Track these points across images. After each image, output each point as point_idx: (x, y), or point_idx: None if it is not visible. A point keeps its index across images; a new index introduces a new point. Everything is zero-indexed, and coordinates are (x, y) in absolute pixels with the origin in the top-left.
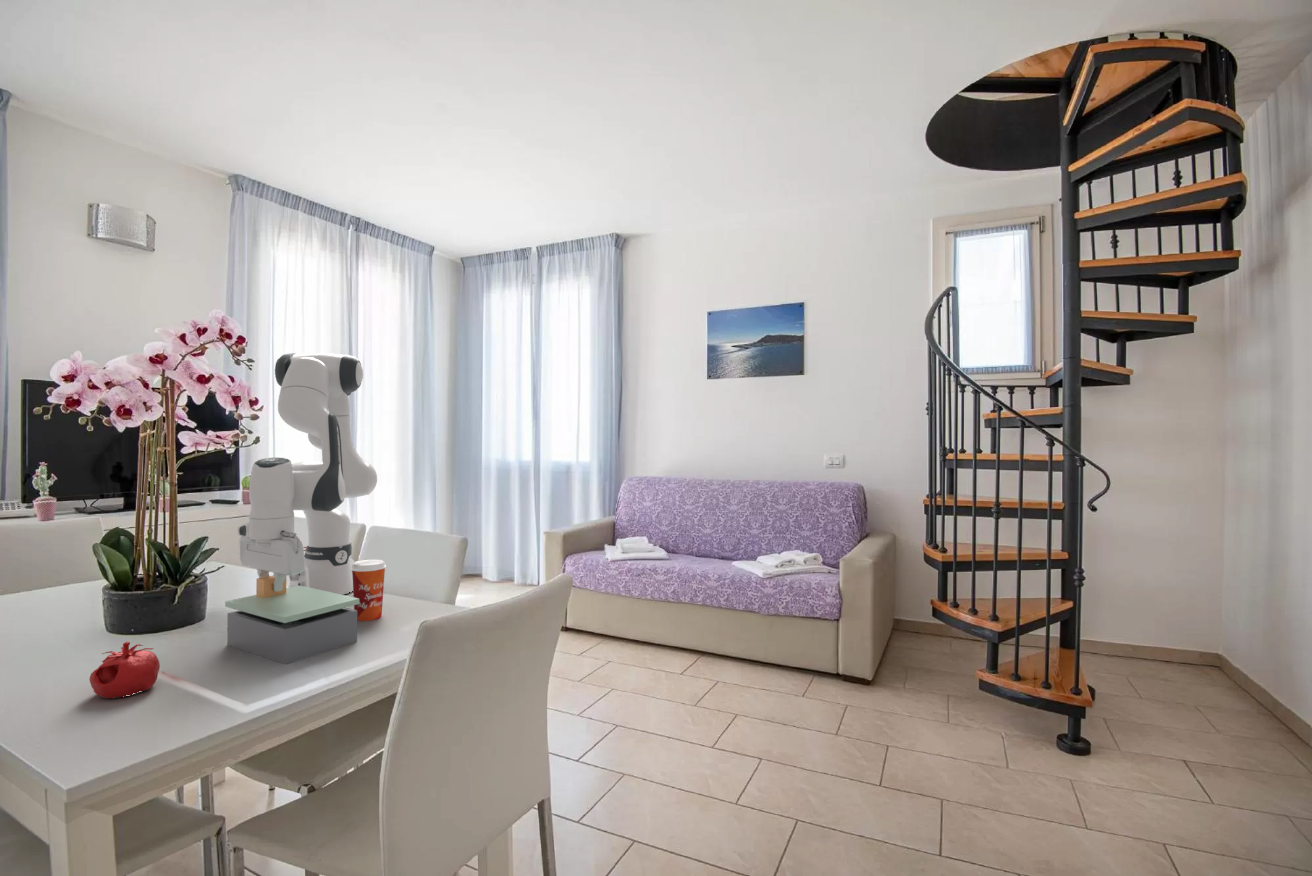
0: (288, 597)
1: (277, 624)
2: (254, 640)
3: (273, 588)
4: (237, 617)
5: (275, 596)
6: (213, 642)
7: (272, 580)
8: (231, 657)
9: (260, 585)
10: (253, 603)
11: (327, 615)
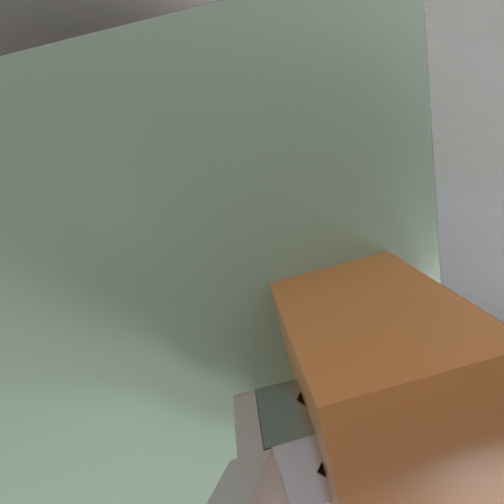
0: (147, 425)
1: None
2: None
3: (261, 402)
4: None
5: (255, 362)
6: (435, 57)
7: (329, 477)
8: None
9: (368, 324)
10: (106, 162)
11: None
